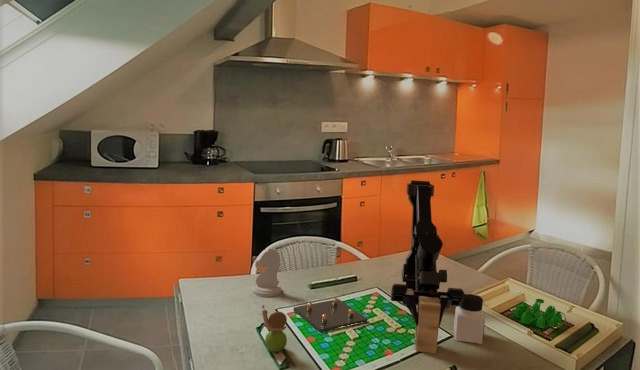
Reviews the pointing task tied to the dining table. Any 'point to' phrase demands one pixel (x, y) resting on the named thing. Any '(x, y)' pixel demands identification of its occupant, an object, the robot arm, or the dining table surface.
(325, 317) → the standoff plate
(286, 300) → the dining table surface
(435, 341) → the wood block
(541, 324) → the green bumpy clump
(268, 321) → the snail figurine
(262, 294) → the chess piece
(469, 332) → the medicine bottle
